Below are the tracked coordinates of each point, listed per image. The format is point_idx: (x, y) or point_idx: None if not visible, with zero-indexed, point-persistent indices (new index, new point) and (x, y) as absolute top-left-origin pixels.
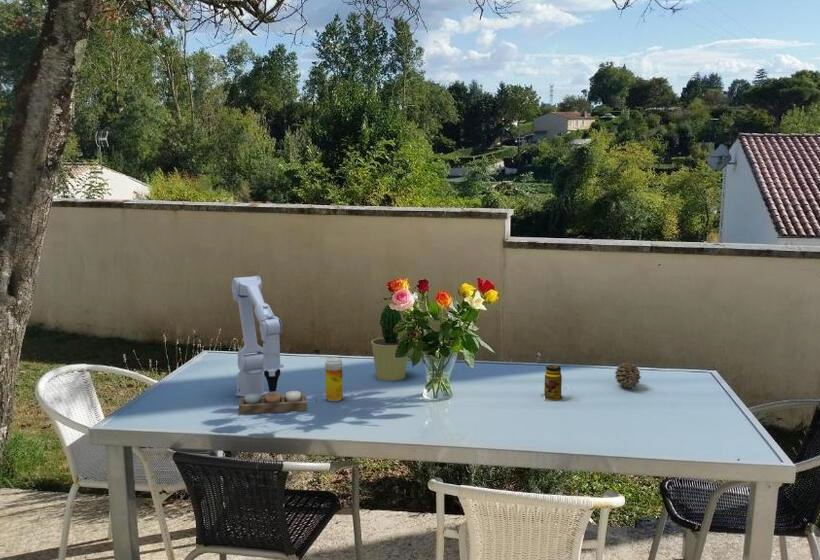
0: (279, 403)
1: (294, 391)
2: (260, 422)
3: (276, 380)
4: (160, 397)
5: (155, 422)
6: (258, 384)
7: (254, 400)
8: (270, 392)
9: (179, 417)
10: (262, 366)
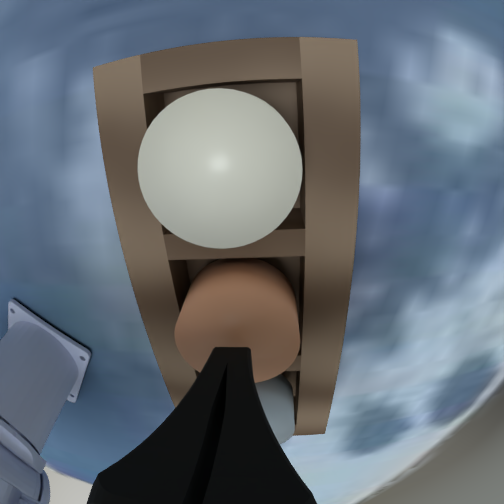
0: (339, 269)
1: (155, 161)
2: (456, 320)
3: (275, 441)
4: None
5: (319, 498)
6: (35, 380)
7: (293, 407)
8: (186, 356)
9: None
10: None
